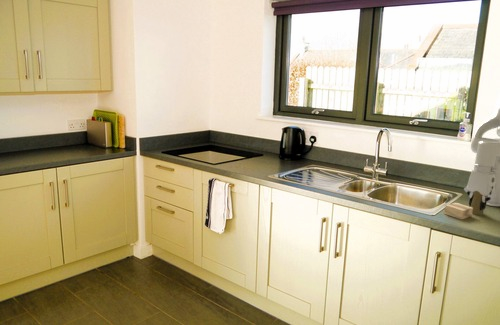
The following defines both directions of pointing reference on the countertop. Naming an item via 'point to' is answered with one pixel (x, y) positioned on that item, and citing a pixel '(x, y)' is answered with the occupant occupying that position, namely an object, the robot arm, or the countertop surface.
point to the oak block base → (458, 210)
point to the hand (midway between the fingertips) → (476, 207)
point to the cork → (476, 203)
